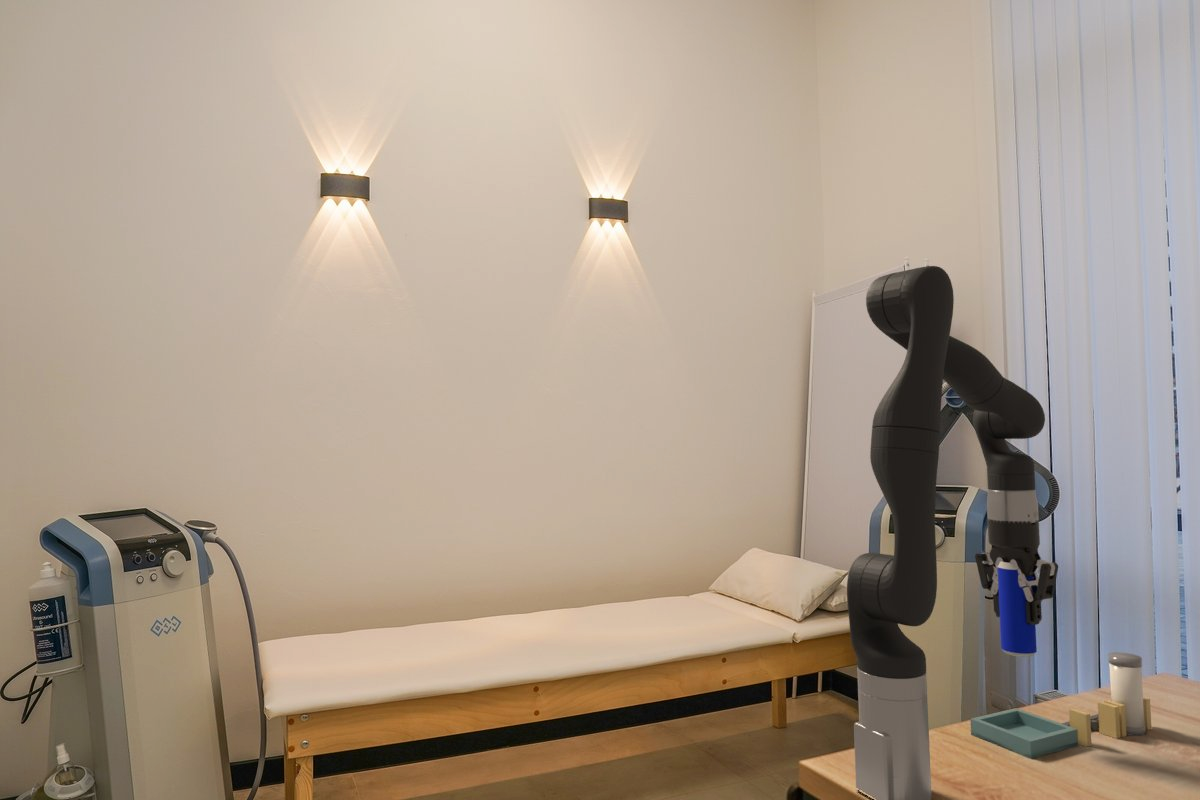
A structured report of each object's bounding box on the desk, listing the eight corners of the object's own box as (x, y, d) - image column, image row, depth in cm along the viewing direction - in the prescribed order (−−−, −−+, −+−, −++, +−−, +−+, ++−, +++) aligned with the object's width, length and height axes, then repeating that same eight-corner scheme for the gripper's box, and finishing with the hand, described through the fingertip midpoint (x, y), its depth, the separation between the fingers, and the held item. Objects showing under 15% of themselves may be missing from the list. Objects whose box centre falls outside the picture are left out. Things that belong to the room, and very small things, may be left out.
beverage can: (1028, 649, 130) (1024, 558, 131) (1042, 657, 125) (1038, 563, 126) (996, 648, 131) (992, 559, 132) (1009, 657, 126) (1004, 563, 127)
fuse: (1134, 737, 128) (1130, 661, 128) (1105, 727, 132) (1101, 654, 132) (1152, 732, 129) (1148, 657, 130) (1123, 723, 134) (1119, 651, 134)
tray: (1031, 758, 120) (1030, 741, 120) (971, 734, 130) (970, 718, 130) (1078, 745, 125) (1077, 729, 125) (1016, 723, 135) (1016, 708, 135)
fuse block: (1085, 747, 124) (1084, 715, 124) (1052, 734, 129) (1050, 704, 130) (1151, 728, 131) (1149, 698, 131) (1117, 718, 136) (1115, 689, 136)
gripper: (960, 514, 134) (964, 614, 133) (1036, 522, 121) (1042, 633, 120) (991, 512, 137) (995, 609, 136) (1069, 519, 124) (1074, 627, 123)
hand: (1017, 620), depth 128 cm, fingers closed on beverage can, 5 cm apart
